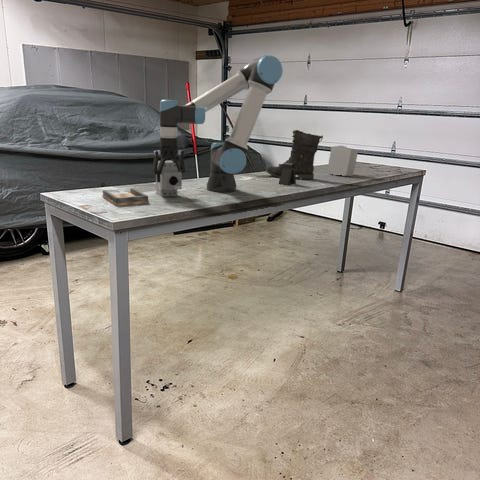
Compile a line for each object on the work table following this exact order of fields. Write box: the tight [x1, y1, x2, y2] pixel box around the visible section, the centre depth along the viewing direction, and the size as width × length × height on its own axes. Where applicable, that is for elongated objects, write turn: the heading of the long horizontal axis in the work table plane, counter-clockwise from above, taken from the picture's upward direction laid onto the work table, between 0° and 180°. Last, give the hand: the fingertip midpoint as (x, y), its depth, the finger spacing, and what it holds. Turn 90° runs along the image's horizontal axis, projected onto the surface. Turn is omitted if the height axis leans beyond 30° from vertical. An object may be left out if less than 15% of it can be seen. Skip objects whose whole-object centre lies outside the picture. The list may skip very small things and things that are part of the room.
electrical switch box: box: [326, 145, 358, 177], centre depth 278 cm, size 15×15×20 cm
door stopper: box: [278, 161, 297, 186], centre depth 232 cm, size 9×6×12 cm, turn 140°
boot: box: [265, 129, 324, 180], centre depth 254 cm, size 12×33×29 cm, turn 79°
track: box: [101, 188, 150, 207], centre depth 174 cm, size 14×18×3 cm
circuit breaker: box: [154, 159, 183, 198], centre depth 185 cm, size 8×14×15 cm, turn 32°
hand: (169, 188), depth 186 cm, fingers closed on circuit breaker, 8 cm apart
